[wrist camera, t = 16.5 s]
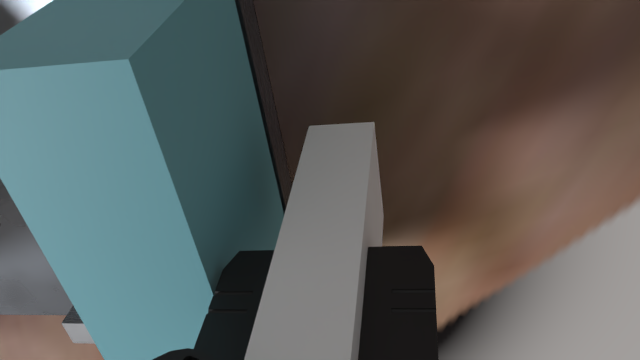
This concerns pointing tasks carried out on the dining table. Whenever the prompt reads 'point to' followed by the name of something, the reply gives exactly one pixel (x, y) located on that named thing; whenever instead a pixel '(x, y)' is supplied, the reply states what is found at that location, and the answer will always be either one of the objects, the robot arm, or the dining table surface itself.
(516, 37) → the dining table surface
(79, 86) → the block
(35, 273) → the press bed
